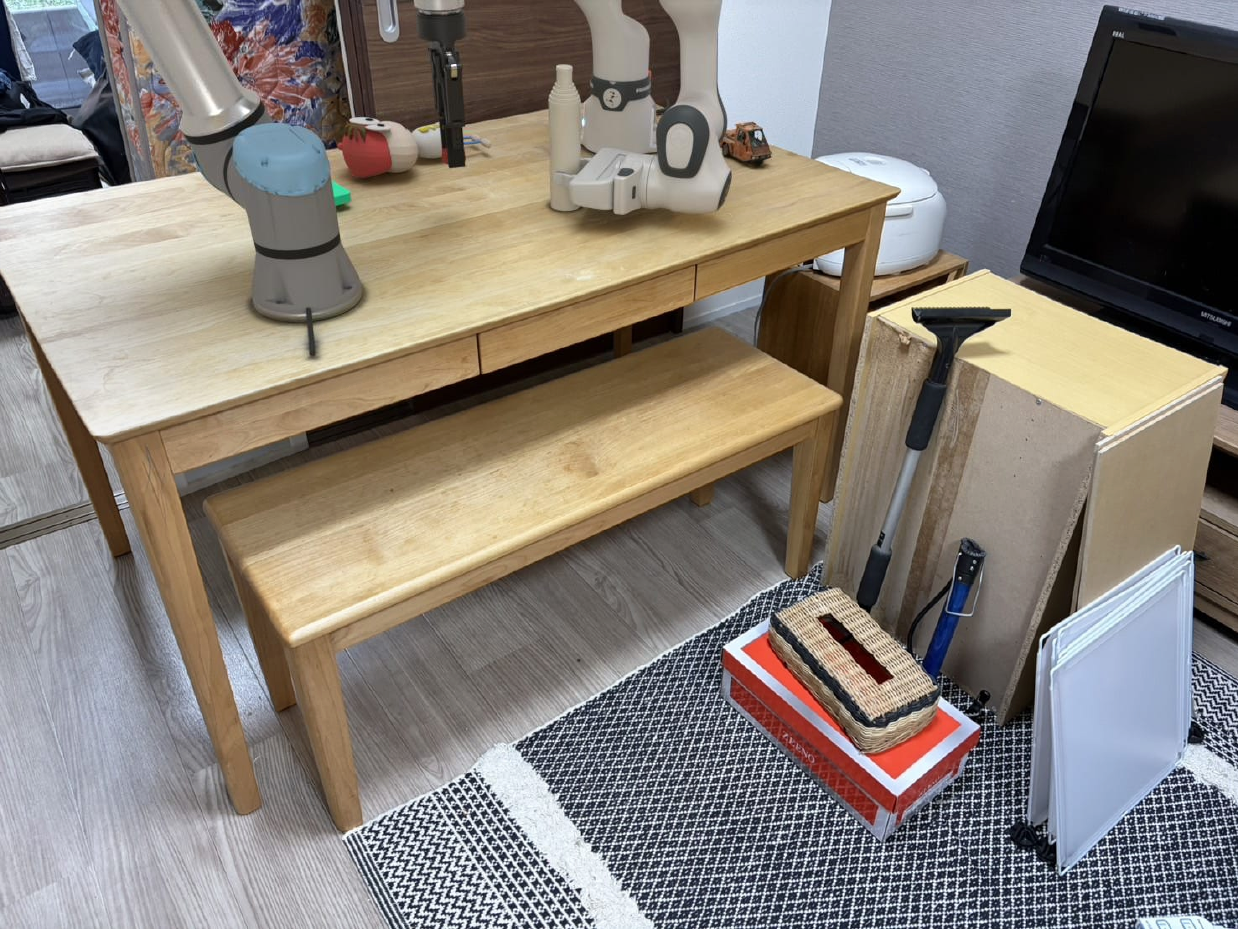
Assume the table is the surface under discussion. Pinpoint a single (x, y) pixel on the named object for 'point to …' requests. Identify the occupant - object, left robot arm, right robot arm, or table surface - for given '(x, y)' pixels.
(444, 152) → the cap
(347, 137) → the toy
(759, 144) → the toy car
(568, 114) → the bottle
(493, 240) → the table surface
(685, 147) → the right robot arm
